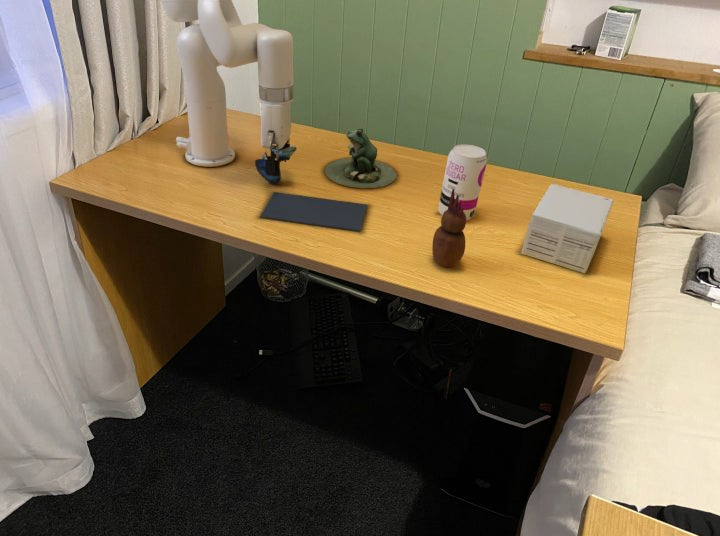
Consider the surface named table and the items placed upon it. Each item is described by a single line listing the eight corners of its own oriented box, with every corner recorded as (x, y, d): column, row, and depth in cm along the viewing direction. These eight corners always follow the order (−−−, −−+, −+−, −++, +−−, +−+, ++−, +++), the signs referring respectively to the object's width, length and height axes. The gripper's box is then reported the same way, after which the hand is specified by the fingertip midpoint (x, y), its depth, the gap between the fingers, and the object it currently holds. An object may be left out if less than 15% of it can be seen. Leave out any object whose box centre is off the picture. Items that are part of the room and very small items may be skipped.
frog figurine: (331, 155, 152) (334, 111, 145) (399, 163, 150) (405, 120, 143) (318, 183, 138) (320, 137, 131) (392, 193, 136) (398, 146, 129)
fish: (293, 190, 135) (294, 150, 129) (252, 184, 136) (251, 144, 130) (297, 182, 138) (299, 143, 132) (257, 177, 139) (257, 137, 133)
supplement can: (475, 209, 132) (490, 147, 122) (471, 225, 125) (486, 161, 116) (440, 202, 133) (453, 140, 124) (434, 218, 127) (447, 154, 118)
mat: (259, 217, 124) (259, 216, 123) (274, 193, 133) (274, 191, 133) (360, 231, 121) (360, 230, 121) (367, 206, 130) (367, 204, 130)
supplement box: (538, 220, 129) (550, 182, 123) (599, 237, 124) (615, 198, 118) (519, 253, 117) (531, 213, 111) (585, 274, 112) (602, 233, 106)
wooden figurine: (426, 252, 115) (439, 185, 106) (454, 252, 116) (469, 185, 107) (434, 271, 110) (448, 202, 101) (463, 271, 111) (480, 202, 102)
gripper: (270, 80, 131) (272, 152, 141) (248, 103, 118) (252, 180, 128) (301, 83, 130) (302, 155, 140) (283, 106, 116) (284, 184, 127)
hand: (278, 167), depth 134 cm, fingers open, 9 cm apart
